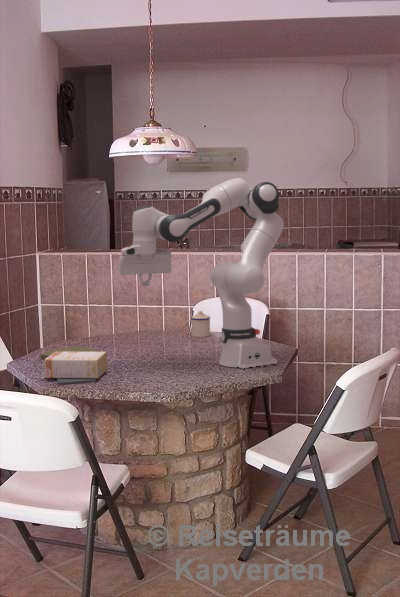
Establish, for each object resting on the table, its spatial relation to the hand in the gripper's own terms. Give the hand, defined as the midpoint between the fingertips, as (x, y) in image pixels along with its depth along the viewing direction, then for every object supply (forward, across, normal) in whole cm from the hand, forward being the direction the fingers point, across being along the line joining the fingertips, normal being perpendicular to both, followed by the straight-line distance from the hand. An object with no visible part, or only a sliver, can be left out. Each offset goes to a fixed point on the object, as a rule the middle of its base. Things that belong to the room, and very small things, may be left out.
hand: (145, 285), depth 282 cm
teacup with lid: (+31, -35, -55) cm, 72 cm away
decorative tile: (+32, +26, -24) cm, 48 cm away
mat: (+31, +29, +12) cm, 44 cm away
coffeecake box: (+27, +19, +12) cm, 35 cm away
